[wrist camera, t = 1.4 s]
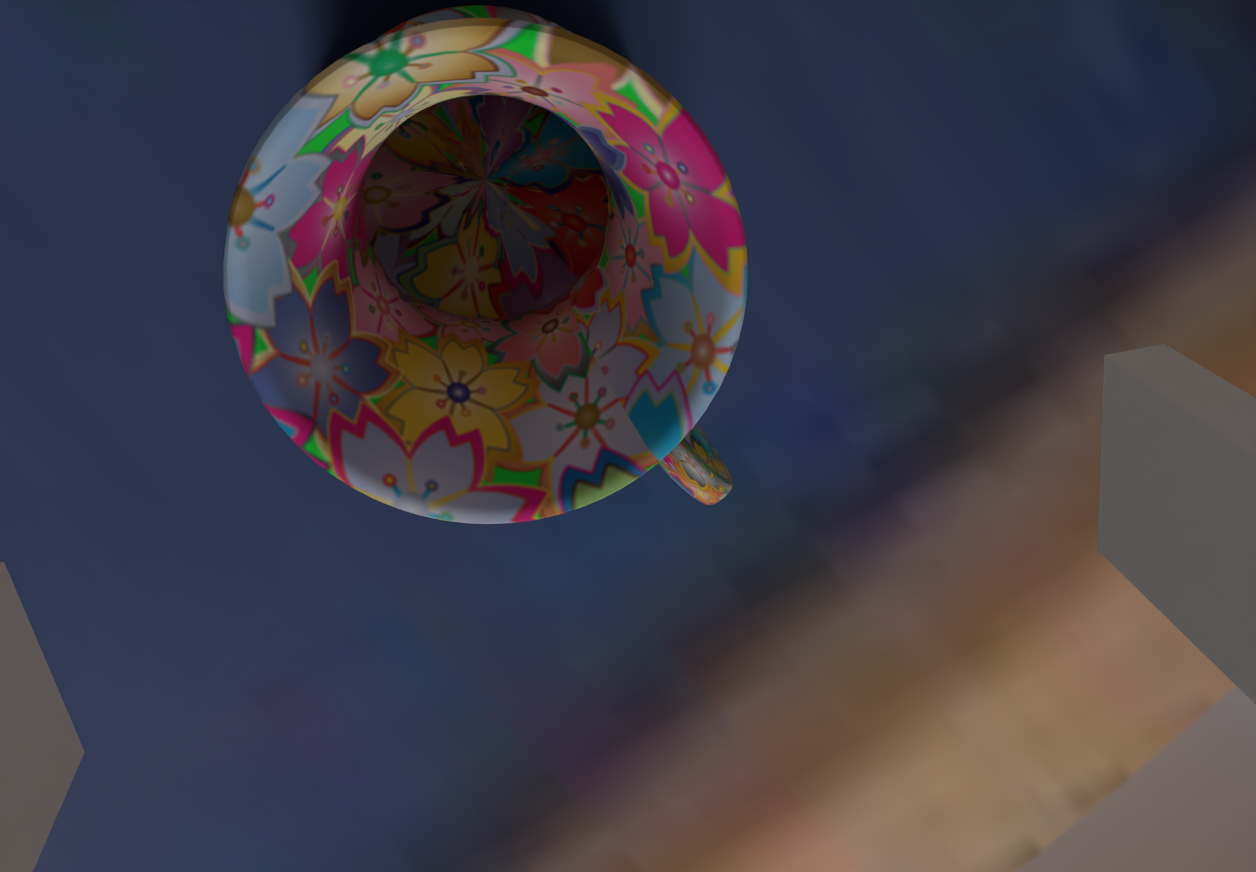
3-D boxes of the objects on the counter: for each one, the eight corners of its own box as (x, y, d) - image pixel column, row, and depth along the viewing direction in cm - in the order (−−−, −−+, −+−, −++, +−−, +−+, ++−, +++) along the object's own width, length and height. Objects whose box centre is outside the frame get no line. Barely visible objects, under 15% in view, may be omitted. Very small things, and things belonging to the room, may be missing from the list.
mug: (222, 166, 30) (103, 287, 20) (488, -102, 28) (499, -112, 18) (547, 471, 34) (579, 689, 24) (793, 256, 32) (932, 400, 23)
